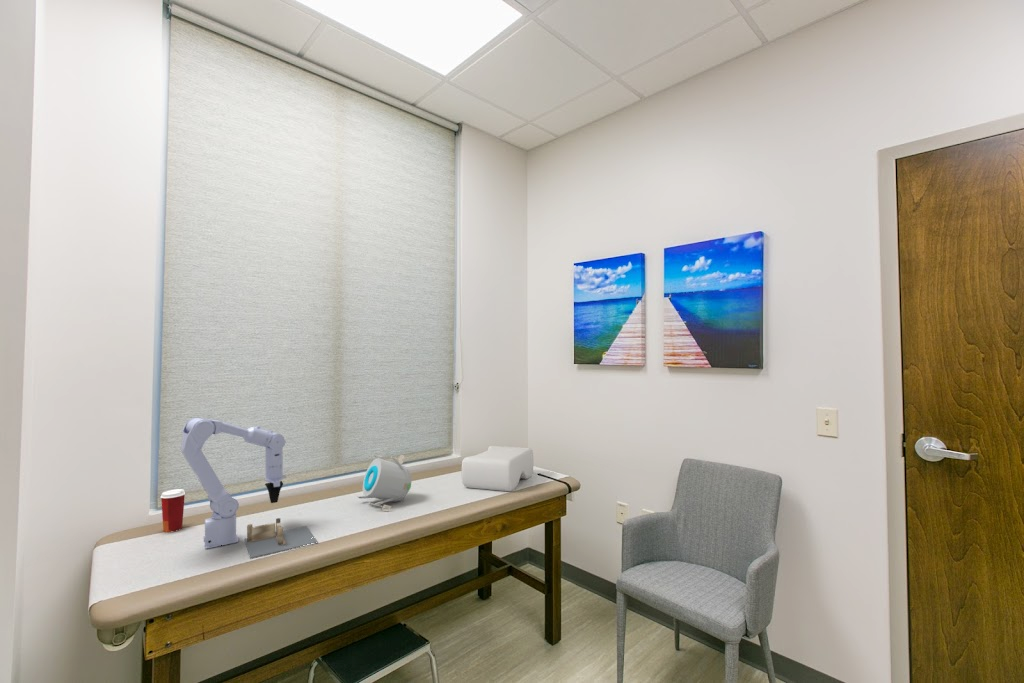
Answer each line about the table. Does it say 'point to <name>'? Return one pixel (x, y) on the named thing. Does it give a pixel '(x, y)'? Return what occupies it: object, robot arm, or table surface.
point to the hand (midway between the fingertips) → (274, 502)
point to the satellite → (386, 480)
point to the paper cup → (172, 509)
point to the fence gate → (279, 531)
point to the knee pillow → (497, 468)
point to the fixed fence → (260, 531)
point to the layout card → (290, 540)
